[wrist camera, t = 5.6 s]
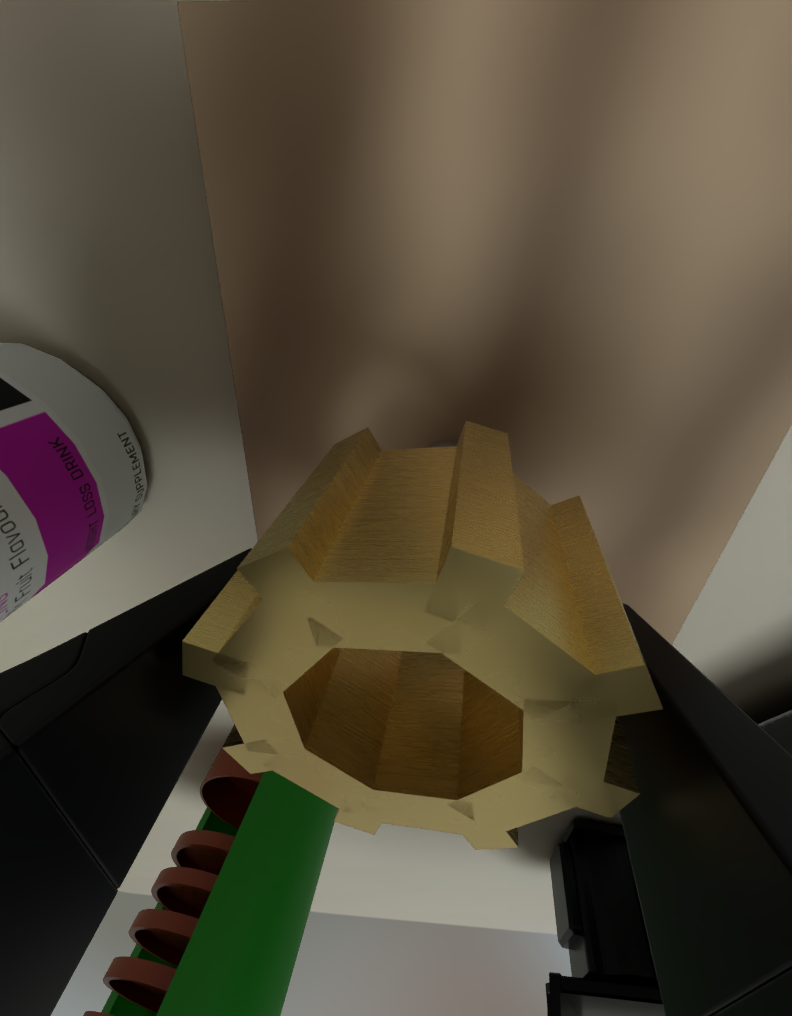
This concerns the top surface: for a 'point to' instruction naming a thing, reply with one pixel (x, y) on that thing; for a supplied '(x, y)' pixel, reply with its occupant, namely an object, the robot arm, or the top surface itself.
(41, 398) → the supplement can
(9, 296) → the top surface
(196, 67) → the board
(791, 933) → the robot arm
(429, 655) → the brass gear
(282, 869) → the motor
